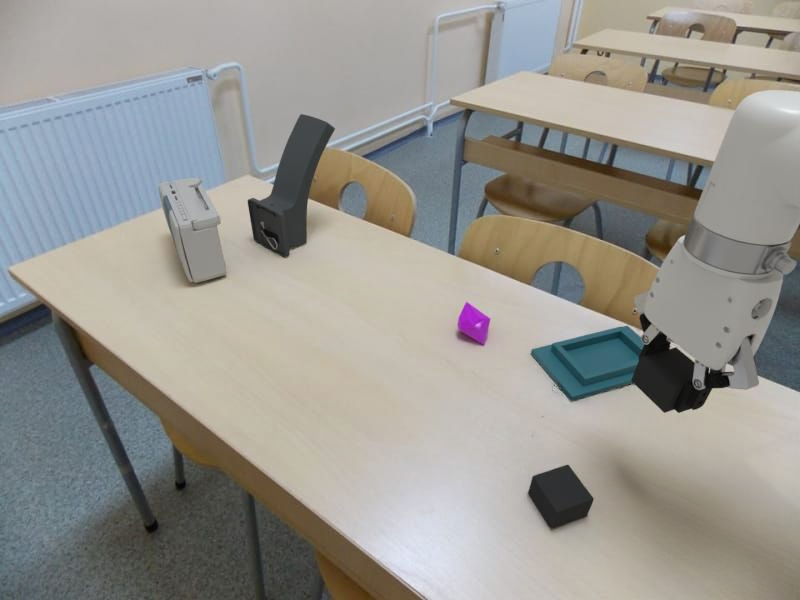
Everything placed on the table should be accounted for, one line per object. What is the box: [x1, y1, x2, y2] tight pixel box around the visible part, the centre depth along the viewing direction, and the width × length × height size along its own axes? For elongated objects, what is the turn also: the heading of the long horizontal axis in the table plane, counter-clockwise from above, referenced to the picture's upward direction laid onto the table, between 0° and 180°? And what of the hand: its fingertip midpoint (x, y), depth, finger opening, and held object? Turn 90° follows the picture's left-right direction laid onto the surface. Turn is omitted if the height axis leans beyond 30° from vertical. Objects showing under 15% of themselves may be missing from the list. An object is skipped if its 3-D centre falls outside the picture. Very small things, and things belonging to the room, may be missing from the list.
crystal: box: [457, 301, 491, 346], centre depth 86 cm, size 5×5×5 cm
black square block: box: [527, 464, 595, 530], centre depth 61 cm, size 5×5×4 cm
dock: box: [530, 325, 644, 402], centre depth 81 cm, size 11×19×2 cm, turn 110°
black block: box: [631, 347, 695, 414], centre depth 55 cm, size 5×5×4 cm
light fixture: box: [247, 113, 336, 258], centre depth 107 cm, size 11×17×24 cm, turn 139°
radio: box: [158, 177, 227, 284], centre depth 100 cm, size 21×8×20 cm, turn 28°
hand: (666, 387), depth 56 cm, fingers closed on black block, 5 cm apart
